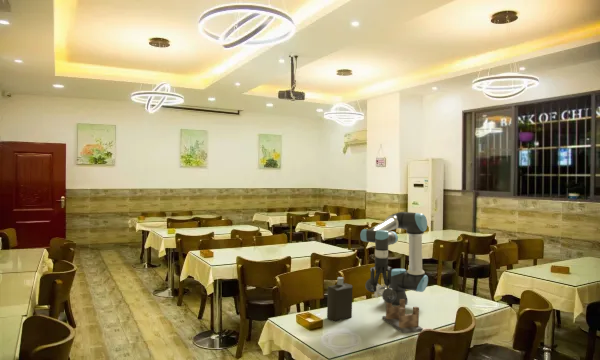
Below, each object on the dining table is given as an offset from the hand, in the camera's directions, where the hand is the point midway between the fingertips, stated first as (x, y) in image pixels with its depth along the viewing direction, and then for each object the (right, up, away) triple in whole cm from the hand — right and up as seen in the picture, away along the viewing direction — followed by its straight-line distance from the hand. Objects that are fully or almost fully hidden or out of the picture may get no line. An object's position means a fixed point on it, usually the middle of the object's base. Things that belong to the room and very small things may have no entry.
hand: (380, 296), depth 246 cm
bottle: (-22, -18, +16) cm, 33 cm away
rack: (+14, -19, +7) cm, 25 cm away
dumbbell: (0, +4, 0) cm, 4 cm away
